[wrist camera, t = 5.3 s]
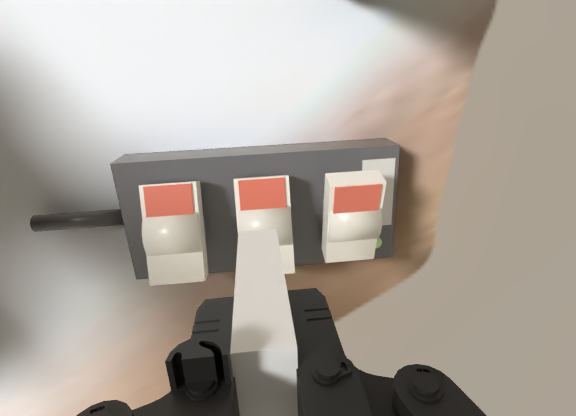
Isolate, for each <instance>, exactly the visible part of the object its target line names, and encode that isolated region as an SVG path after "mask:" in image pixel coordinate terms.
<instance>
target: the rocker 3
mask: <svg viewBox="0 0 576 416" xmlns="http://www.w3.org/2000/svg"><path fill="white" fill-rule="evenodd" d="M386 183H387V182H386V181H385V179H384V177H383V176H382V174H381V173H380V171H379V170H367V171H352V172H337V173H325V187H324V198H323V204H322V218H323V228H322V252H323V256H324V259H325V263H332V262H343V261H355V260H366V259H374V254H375V248H376V242H377V238H379V236H380V234H381V230H382V206H383V200H384V195H385V189H386Z"/></svg>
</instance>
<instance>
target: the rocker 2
mask: <svg viewBox="0 0 576 416" xmlns="http://www.w3.org/2000/svg"><path fill="white" fill-rule="evenodd" d="M233 181H234V193H235V205H236V217H237V229H238V231H251V230H263V229H276V230H277V235H278V241H279V246H280V252H281V258H282V263H283V269H284V274H291V273H295V265H294V249H293V234H292V219H291V203H290V188H289V175H277V176H262V177H248V178H235V179H233Z"/></svg>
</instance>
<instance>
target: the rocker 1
mask: <svg viewBox="0 0 576 416" xmlns="http://www.w3.org/2000/svg"><path fill="white" fill-rule="evenodd" d="M139 194H140V203H141V212H142V240H143V246H144V249H145V252H146V258H147V267H148V276H149V285H150V286H156V285H167V284H179V283H190V282H201V281H206V279H207V277H208V275H209V273H208V262H207V251H206V240H205V223H204V216H203V208H202V197H201V186H200V181H193V182H178V183H164V184H149V185H139Z"/></svg>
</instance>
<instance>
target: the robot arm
mask: <svg viewBox="0 0 576 416" xmlns="http://www.w3.org/2000/svg"><path fill="white" fill-rule="evenodd" d="M165 363H166V367H167V372H168V377H169V382H170V386H171V391H170V392H169V393H168V394H167V395H165V396H164V397H162V398H161V399H159V400H156V401H154V402H152V403H150V404H147V405H145V406H142V407H139V408H137V409H134V410H131V409H130V407H129V406H128V405H127V404H126V403H124V402H121V401H118V400H111V401H103V402H100V403H98V404H95V405H92V406H90V407H89V408H87V409H85V410H84V411H82V412H81V413H79V414H78V415H77V416H486V415H485V414H484V413H483V412H482V411H481V410H480V409H479V407H477V406H476V405H475V403H473V401H472V400H471V399H470V398H469V397H468V396H467V395H466V394H465V393H464V392H463V391H462V390H461V389H460V388H459V387H458V386H457V385H456V384H455V383H454V382H453V381H452V380H451V379H450V378H449V377H447V376H446V375H445V374H443V373H442V372H441V371H439V370H437V369H434V368H432V367H430V366H426V365H419V364H415V365H407V366H405V367H403V368H401V369H400V370H398V371H397V373H396V375H395V377H394V378H388V377H382V376H376V375H372V374H368V373H365V372H363V371H361V370H358V369H357V368H356V367H355V366H354V365H353V363H352V362H351V361H350V360H349V359H347V358H346V356H345V354H344V351H343V348H342V345H341V342H340V339H339V337H338V334H337V331H336V328H335V325H334V322H333V319H332V316H331V313H330V310H329V307H328V304H327V301H326V298H325V296H324V295H322V294H321V293H320V292H319V291H318V290H317V289H316V288H311V289H301V290H290V291H287V286H286V280H285V275H284V269H283V263H282V258H281V252H280V246H279V241H278V235H277V230H276V229H263V230H251V231H238V245H237V260H236V275H235V290H234V297H227V298H216V299H206V300H205V301H204V302H203V304H202V305H201V306H200V307H199V308H198V310H197V312H196V317H195V322H194V326H193V331H192V335H191V339H189V340H187V341H185V342H183V343H181V344H179V345H178V346H177V347H176V348H175V349H173V350H172V351H171V352H170V354H169V355H168V357H167V359H166V361H165Z"/></svg>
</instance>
